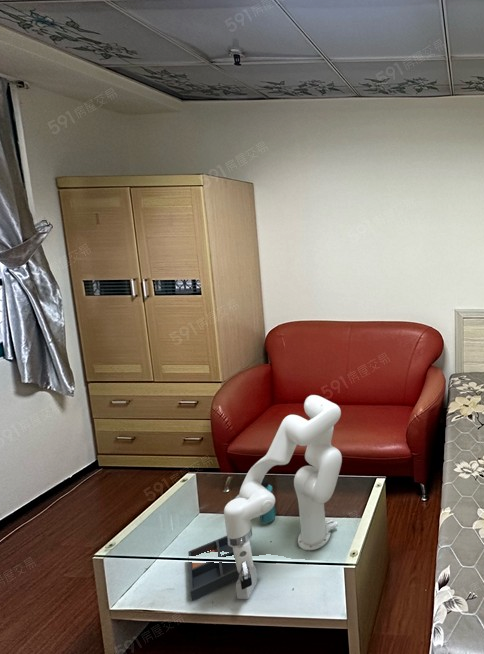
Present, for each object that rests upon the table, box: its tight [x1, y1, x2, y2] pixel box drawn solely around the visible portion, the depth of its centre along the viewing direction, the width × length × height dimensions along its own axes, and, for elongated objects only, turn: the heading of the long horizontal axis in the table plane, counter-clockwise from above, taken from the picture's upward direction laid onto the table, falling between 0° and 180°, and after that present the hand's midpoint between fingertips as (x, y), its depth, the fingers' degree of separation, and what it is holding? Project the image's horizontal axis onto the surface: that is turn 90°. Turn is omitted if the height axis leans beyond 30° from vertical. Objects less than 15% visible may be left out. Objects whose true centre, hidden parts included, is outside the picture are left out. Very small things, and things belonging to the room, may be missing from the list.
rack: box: [187, 535, 243, 602], centre depth 153 cm, size 19×19×4 cm
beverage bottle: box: [258, 477, 277, 524], centre depth 173 cm, size 6×7×20 cm
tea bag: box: [235, 563, 258, 600], centre depth 144 cm, size 4×7×10 cm, turn 179°
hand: (244, 576), depth 143 cm, fingers open, 9 cm apart
